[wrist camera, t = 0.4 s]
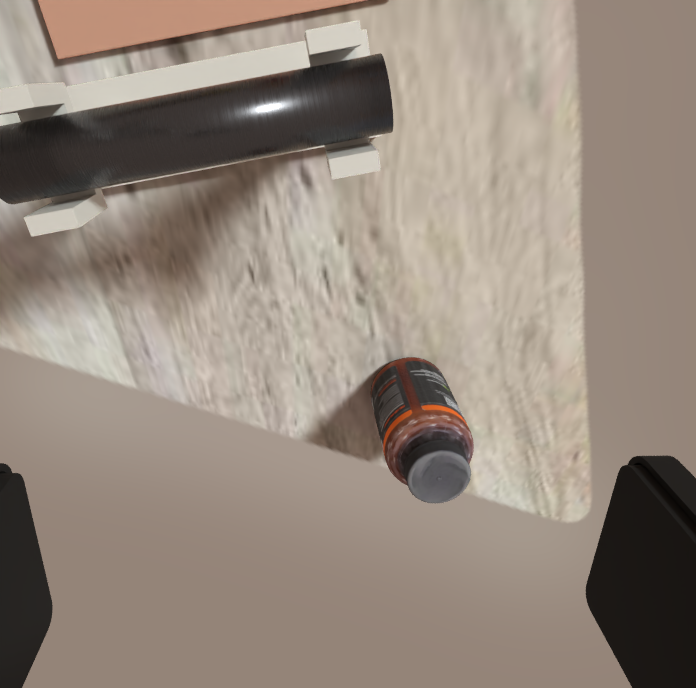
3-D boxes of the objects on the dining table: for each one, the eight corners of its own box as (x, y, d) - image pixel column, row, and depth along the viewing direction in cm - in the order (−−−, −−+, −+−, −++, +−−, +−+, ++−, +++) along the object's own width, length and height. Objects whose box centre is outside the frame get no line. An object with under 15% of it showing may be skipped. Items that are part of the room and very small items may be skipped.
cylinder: (31, 196, 26) (-1, 211, 23) (2, 126, 25) (-34, 132, 22) (386, 129, 26) (396, 135, 23) (376, 54, 25) (385, 52, 22)
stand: (105, 186, 38) (-9, 252, 24) (71, 86, 35) (-80, 94, 21) (379, 134, 38) (425, 169, 24) (364, 30, 35) (406, 1, 21)
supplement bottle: (363, 417, 47) (381, 514, 37) (376, 350, 44) (399, 433, 34) (436, 423, 48) (474, 520, 37) (452, 358, 45) (497, 441, 35)
